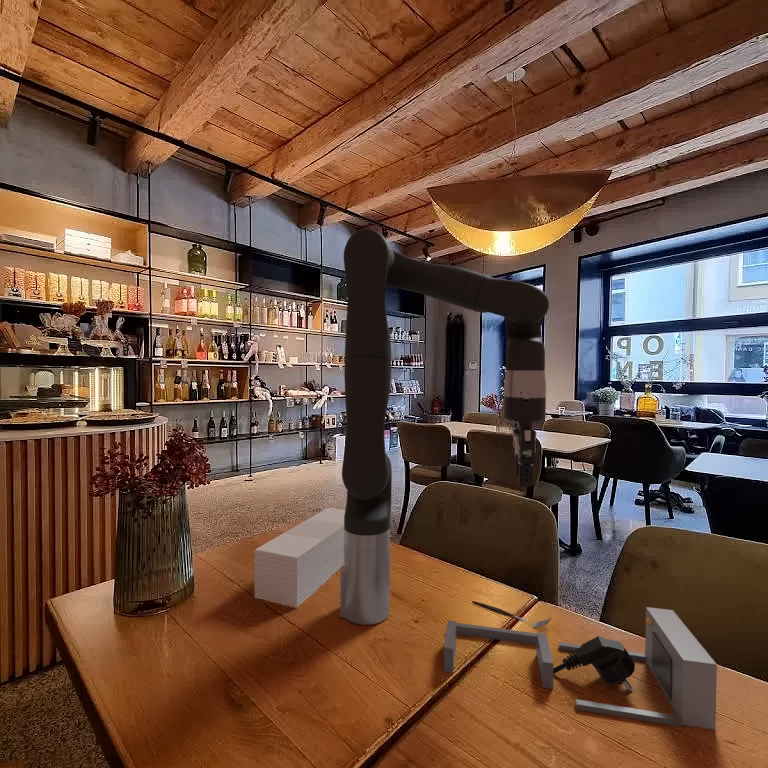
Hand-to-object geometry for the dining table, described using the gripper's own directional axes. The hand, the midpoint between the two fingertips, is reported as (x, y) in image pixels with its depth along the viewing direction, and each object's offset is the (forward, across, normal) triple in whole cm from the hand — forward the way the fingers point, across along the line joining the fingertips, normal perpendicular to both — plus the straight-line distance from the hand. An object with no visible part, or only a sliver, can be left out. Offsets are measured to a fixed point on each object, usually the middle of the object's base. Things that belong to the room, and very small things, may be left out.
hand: (523, 480), depth 82 cm
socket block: (+28, +12, +15) cm, 34 cm away
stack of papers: (+29, -13, -47) cm, 56 cm away
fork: (+29, -4, -2) cm, 29 cm away
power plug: (+28, +12, +10) cm, 32 cm away
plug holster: (+28, +10, -5) cm, 30 cm away
